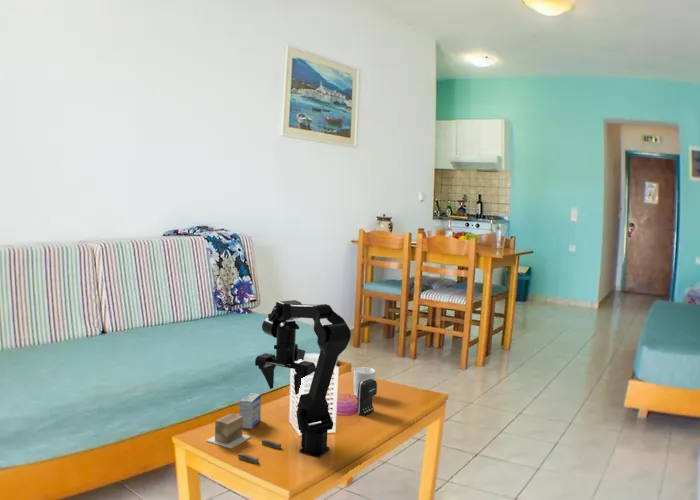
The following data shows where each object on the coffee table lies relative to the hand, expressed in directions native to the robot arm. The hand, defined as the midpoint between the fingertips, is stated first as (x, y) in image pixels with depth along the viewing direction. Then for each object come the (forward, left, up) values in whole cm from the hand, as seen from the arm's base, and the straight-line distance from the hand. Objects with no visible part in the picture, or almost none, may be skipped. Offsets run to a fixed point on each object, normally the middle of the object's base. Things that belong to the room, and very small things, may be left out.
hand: (284, 391), depth 182 cm
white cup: (-8, -41, -12) cm, 44 cm away
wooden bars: (-4, +18, -12) cm, 22 cm away
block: (+9, +15, -12) cm, 21 cm away
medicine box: (+11, +2, -12) cm, 17 cm away
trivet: (+9, +15, -12) cm, 21 cm away
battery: (-16, -27, -12) cm, 34 cm away
